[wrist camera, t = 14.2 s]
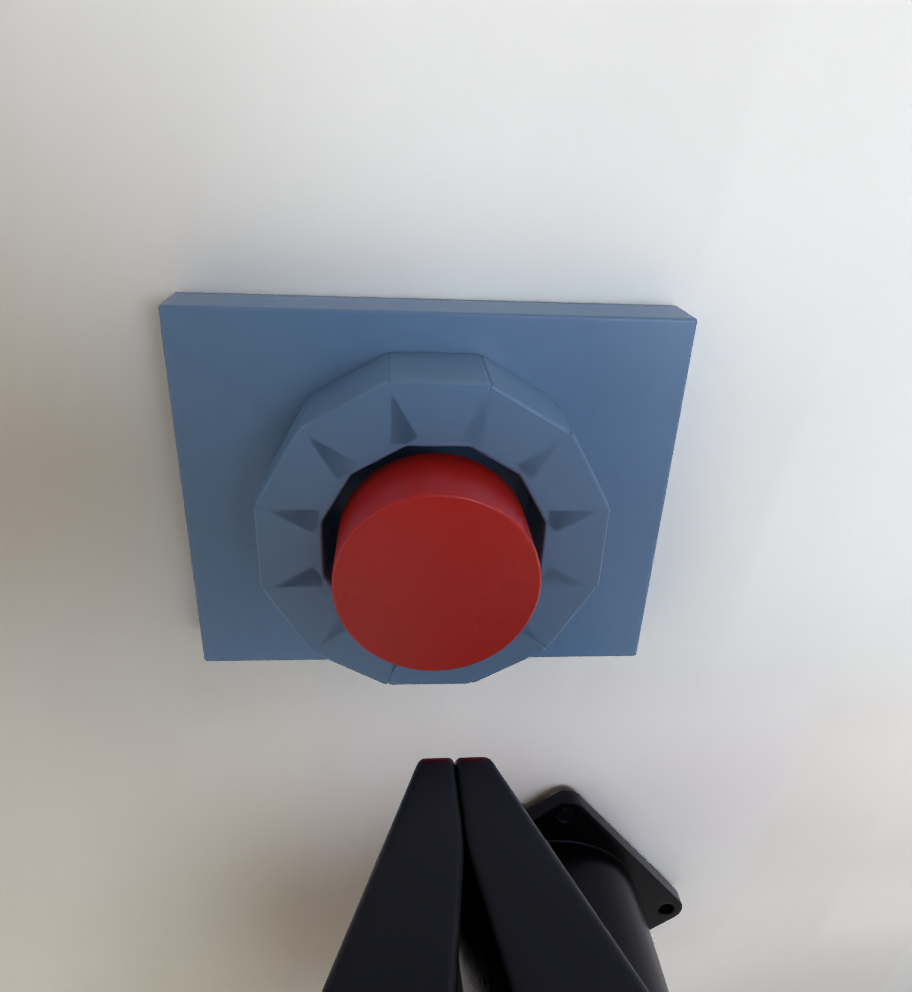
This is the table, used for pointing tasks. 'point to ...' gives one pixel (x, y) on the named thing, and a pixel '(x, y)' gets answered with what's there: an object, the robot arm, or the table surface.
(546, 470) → the button box
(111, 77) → the table surface
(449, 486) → the red button
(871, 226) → the table surface
